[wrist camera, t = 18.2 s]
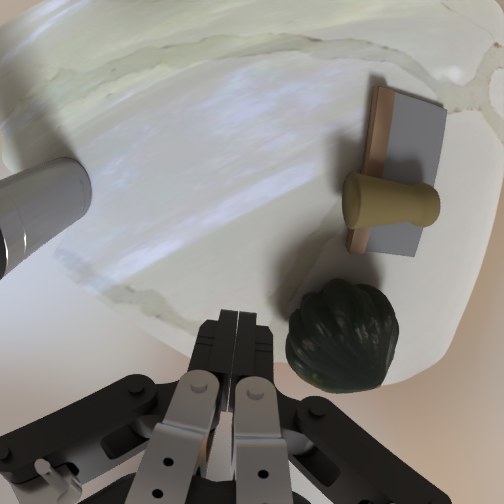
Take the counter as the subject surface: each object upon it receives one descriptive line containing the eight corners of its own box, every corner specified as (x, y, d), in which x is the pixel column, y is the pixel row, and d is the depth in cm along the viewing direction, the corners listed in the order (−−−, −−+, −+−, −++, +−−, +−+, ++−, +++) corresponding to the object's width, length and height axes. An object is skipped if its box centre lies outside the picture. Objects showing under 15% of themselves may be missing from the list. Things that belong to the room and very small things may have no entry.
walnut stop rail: (345, 245, 38) (349, 252, 36) (373, 87, 30) (379, 86, 28) (359, 247, 38) (364, 254, 36) (389, 91, 30) (395, 90, 28)
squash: (245, 326, 37) (308, 431, 30) (339, 245, 33) (423, 356, 25) (295, 327, 49) (345, 403, 41) (367, 267, 44) (426, 345, 37)
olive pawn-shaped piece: (346, 164, 32) (426, 172, 33) (339, 212, 36) (416, 215, 36) (365, 185, 27) (453, 193, 28) (354, 239, 31) (438, 240, 31)
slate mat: (359, 247, 38) (361, 250, 37) (389, 91, 30) (391, 91, 29) (412, 254, 38) (414, 257, 37) (443, 109, 30) (447, 109, 29)
